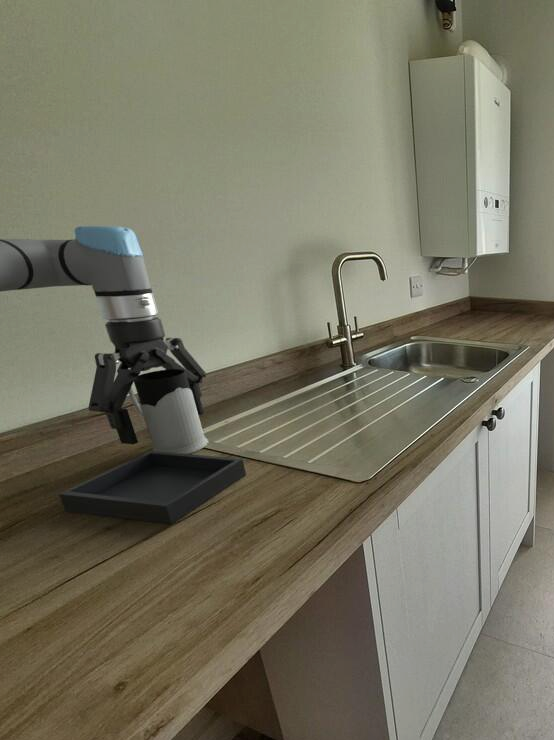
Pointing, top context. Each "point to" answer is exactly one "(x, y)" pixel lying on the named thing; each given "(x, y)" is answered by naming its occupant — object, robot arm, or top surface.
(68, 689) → the top surface
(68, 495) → the tray
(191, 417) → the black and white mug
